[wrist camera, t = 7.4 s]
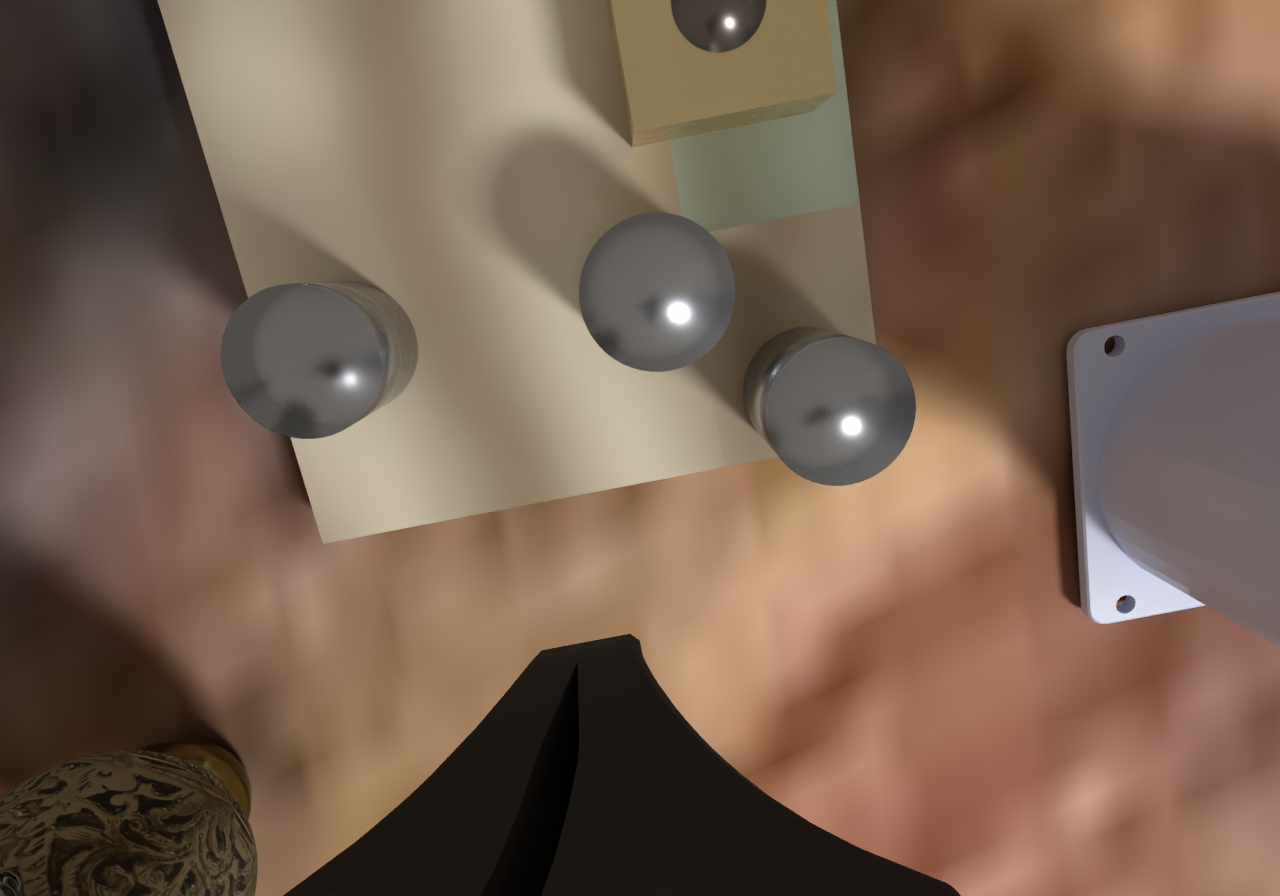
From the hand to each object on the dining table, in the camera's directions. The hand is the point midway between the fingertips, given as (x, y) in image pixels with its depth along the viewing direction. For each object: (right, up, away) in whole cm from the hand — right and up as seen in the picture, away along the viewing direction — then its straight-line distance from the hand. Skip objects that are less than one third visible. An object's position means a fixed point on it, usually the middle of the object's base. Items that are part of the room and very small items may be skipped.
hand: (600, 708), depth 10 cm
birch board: (-2, +12, +7) cm, 14 cm away
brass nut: (+2, +12, +6) cm, 14 cm away
